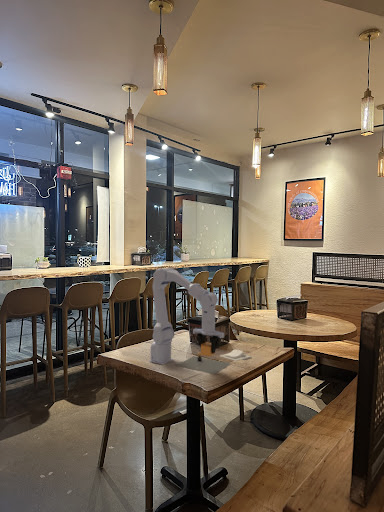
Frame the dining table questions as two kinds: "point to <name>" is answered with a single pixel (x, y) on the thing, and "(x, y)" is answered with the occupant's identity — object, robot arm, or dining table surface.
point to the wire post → (199, 357)
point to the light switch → (236, 355)
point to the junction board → (203, 365)
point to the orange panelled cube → (206, 349)
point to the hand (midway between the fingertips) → (208, 352)
